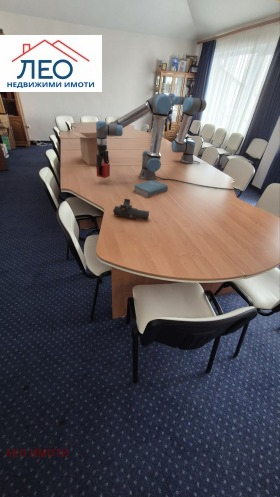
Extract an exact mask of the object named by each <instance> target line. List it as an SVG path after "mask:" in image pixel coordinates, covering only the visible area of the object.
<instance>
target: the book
mask: <svg viewBox="0 0 280 497" xmlns="http://www.w3.org/2000/svg"><path fill="white" fill-rule="evenodd" d="M168 187H169V186H168V184H166V183H164V182H160V181H159V180H156V179H153V180H146V181H143V182H140V183H137V184H134V185H133V193H135V194H138V195H140V196H142V197H145V198H150V197H153V196H156V195H159V194H161V193H164V192H167V191H168Z"/></svg>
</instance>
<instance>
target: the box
mask: <svg viewBox="0 0 280 497" xmlns="http://www.w3.org/2000/svg"><path fill="white" fill-rule="evenodd" d="M70 133H71V134H72V135H74V136H75V137H77V138H79V144H80V153H81V160H83V162H85V163H86V165H87V166H96V164H97V156H96V154H98V152H99V150H98V149H97V133H96V131H95V130H92V129H91V130H77V132H76V131H70ZM113 137H114V136H107V138H113ZM102 163H104V159H102Z"/></svg>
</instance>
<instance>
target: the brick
mask: <svg viewBox="0 0 280 497" xmlns="http://www.w3.org/2000/svg"><path fill="white" fill-rule="evenodd" d="M95 167H96V169H95V170H96V177H98V178H103V179H107V178H109V177H110V176H111V166H110V163H108V164H107V163H102V165H101V167H102V176H101V175H99V168H98V167H97V164H96V165H95Z"/></svg>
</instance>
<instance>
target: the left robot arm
mask: <svg viewBox="0 0 280 497" xmlns="http://www.w3.org/2000/svg"><path fill="white" fill-rule="evenodd" d="M171 106H172V102H171V99H170V97H169V94H166V93H159V92H158V93H155V94H154V95H153V96H151V97H149V98H148V99H146V100H145V102H144V103H143V104H141V105H139V106H137V107H136V108H134V109H132V110H130V111H129V112H127V113H126V114H124V115H122V116H120V117H119V118H116V119H115V120H114V121H110V122H109V123H108V124H107V121H105V120H97V121H96V122H95V132H96V133H97V149H98V150H99V152H98V154H96V156H97V167H98V168H99V175H101V176H102V167H101V165H102V159H104V163H107V164H110V159H109V158H110V156H109V150H108V137H107V136H113V137H122V136H123V135H124V134H123V133H124V132H123V130H124V128H126V127H128V126H129V125H131V124H133V123H135V122H137V121H138V120H140V119H142V118H144V117H145V116H147V115H149V114H150V115H152V116H153V122H152V130H151V137H150V142H149V150H143V152H142V159H141V160H142V161H141V169H140V172H139V174H138V175H139V178H140V179H142V180H146V181H150V180H156V178H158V179H160V180H163V181H164V180H165V181H173V182H174V181H176V182H178V183H179V182H180V183H183V184H189V185H194V186H199V187H205V188H210V189H211V188H212V189H220V190H232V191H237V190H238V189H236V188H226V187H216V186H208V185H203V184H199V183H193V182H188V181H183V180H178V179H173V178H163V177H159V176H157V174H156V172H158V171H159V170H160V169H161V167H162V162H161V157H162V154H161V153H160V152H161V147H162V140H163V135H164V131H165V125H164V124H165V120H166V118H167V117H168V113H169V111H170V109H171Z"/></svg>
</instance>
